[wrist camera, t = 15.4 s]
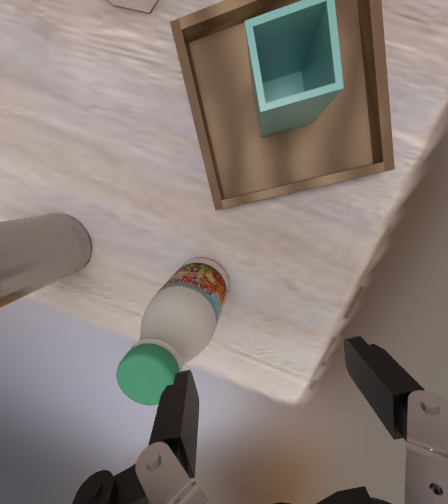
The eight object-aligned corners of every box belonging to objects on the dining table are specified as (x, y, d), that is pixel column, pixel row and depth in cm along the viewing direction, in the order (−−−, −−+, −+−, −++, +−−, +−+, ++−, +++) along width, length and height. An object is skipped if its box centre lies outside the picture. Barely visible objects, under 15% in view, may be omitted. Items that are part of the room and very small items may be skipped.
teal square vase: (261, 137, 31) (260, 112, 19) (251, 83, 30) (244, 20, 18) (312, 124, 30) (343, 88, 18) (304, 66, 28) (333, -12, 17)
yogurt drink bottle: (233, 302, 38) (204, 424, 19) (184, 307, 40) (111, 425, 20) (224, 253, 36) (181, 332, 17) (173, 260, 38) (81, 340, 19)
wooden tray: (220, 207, 35) (215, 210, 31) (180, 39, 30) (170, 22, 27) (380, 170, 31) (394, 169, 27) (362, -29, 26) (376, -60, 23)
